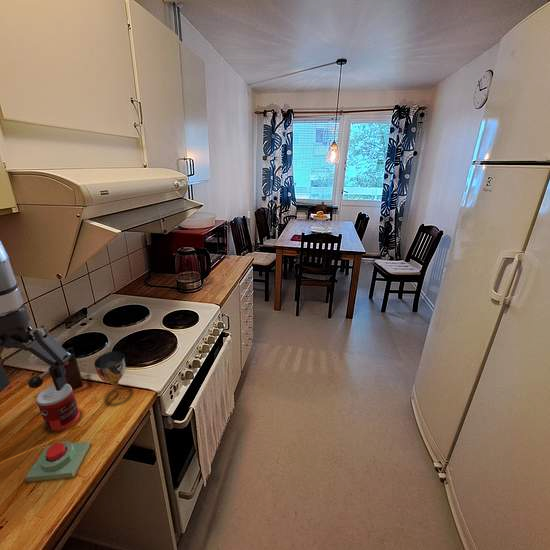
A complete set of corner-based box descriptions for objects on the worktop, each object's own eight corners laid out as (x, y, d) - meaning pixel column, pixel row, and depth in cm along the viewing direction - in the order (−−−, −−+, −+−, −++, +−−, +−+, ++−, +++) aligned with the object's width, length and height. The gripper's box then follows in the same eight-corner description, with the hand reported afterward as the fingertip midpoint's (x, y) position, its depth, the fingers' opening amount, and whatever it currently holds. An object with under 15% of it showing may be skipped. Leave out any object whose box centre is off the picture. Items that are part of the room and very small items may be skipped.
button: (44, 462, 68) (42, 457, 67) (53, 448, 71) (51, 443, 70) (60, 460, 68) (58, 455, 67) (69, 447, 71) (67, 442, 71)
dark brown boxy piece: (61, 399, 90) (48, 364, 85) (60, 386, 95) (48, 352, 90) (90, 388, 94) (80, 354, 89) (88, 376, 99) (78, 343, 94)
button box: (28, 483, 67) (22, 472, 65) (49, 451, 74) (44, 440, 72) (73, 478, 68) (69, 467, 66) (90, 447, 75) (86, 436, 74)
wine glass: (130, 404, 88) (121, 365, 83) (102, 410, 86) (90, 370, 81) (134, 386, 95) (126, 349, 90) (108, 391, 93) (98, 353, 88)
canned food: (52, 415, 84) (41, 386, 80) (83, 408, 87) (74, 380, 83) (43, 437, 77) (30, 407, 73) (77, 429, 80) (67, 399, 76)
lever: (35, 392, 86) (24, 387, 84) (35, 385, 89) (25, 380, 87) (75, 360, 90) (65, 354, 88) (74, 355, 93) (65, 349, 91)
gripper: (72, 301, 65) (94, 375, 73) (-41, 302, 64) (-7, 377, 72) (49, 318, 58) (76, 398, 66) (-79, 319, 57) (-36, 400, 65)
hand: (33, 387), depth 69 cm, fingers open, 13 cm apart
